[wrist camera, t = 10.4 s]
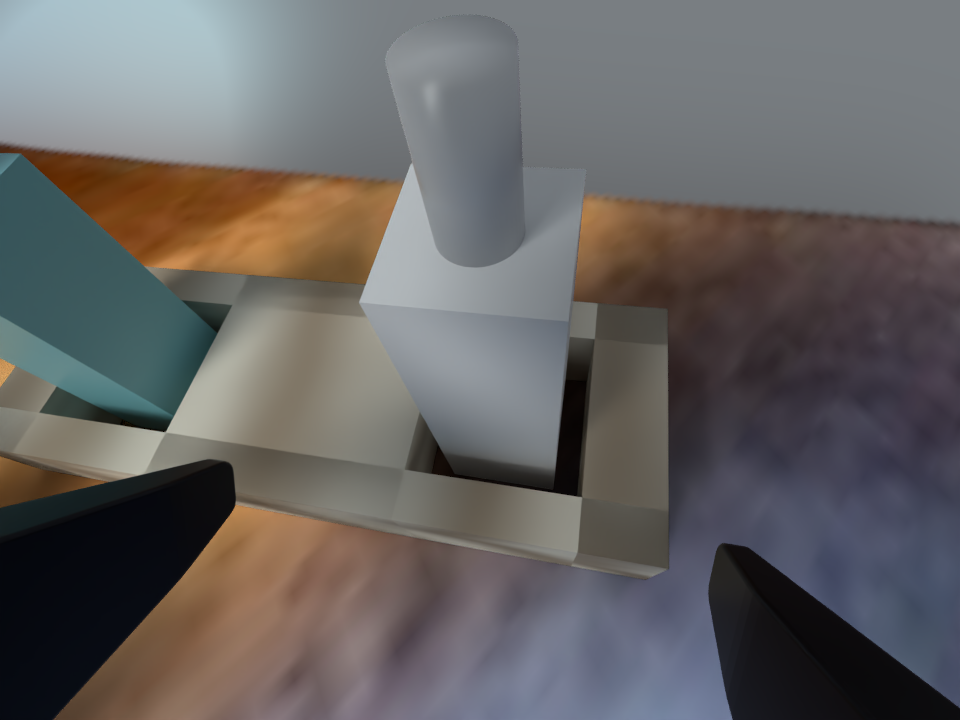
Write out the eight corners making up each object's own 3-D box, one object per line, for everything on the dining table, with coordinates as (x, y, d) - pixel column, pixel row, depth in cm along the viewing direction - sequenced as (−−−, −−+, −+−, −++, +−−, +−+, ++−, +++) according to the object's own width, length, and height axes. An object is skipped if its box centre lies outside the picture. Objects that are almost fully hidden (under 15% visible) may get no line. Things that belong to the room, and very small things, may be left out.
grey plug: (553, 489, 16) (584, 146, 5) (454, 474, 16) (267, 139, 5) (563, 397, 17) (605, -26, 6) (473, 386, 18) (360, -16, 7)
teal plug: (248, 361, 20) (-138, 9, 8) (212, 438, 18) (-322, 130, 7) (178, 353, 20) (-269, 14, 9) (137, 426, 19) (-463, 126, 8)
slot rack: (648, 355, 18) (667, 308, 15) (645, 579, 14) (669, 568, 12) (145, 305, 22) (92, 262, 19) (41, 469, 18) (-41, 443, 16)
